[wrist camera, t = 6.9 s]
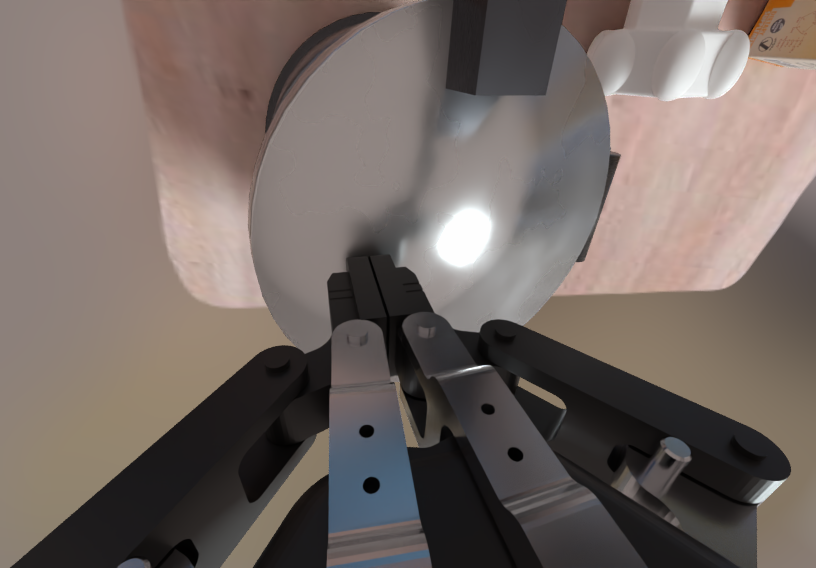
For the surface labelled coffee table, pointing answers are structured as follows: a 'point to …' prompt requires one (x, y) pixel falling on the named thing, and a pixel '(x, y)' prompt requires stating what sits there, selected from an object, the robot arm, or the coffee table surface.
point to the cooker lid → (435, 163)
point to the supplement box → (786, 34)
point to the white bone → (670, 51)
